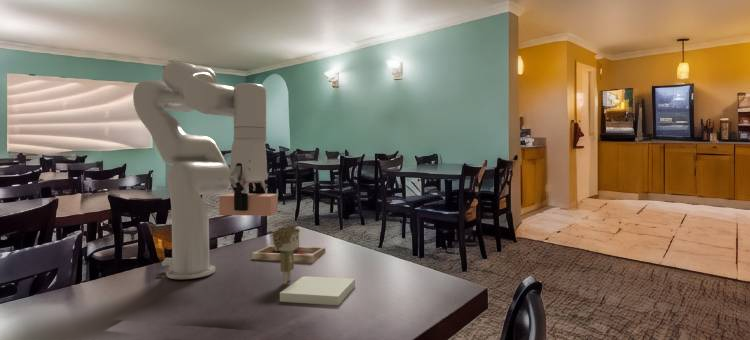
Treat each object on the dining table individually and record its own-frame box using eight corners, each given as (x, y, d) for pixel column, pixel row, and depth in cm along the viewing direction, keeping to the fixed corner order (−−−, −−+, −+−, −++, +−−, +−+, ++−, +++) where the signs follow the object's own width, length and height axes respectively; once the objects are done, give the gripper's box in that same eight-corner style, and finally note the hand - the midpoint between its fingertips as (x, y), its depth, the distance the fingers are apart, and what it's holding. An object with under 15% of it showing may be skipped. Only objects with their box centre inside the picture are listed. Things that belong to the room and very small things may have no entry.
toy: (293, 286, 105) (292, 228, 105) (269, 285, 107) (268, 227, 106) (304, 278, 113) (303, 223, 112) (281, 277, 114) (280, 223, 114)
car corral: (252, 264, 129) (252, 253, 129) (270, 255, 141) (270, 245, 141) (312, 266, 125) (312, 255, 125) (325, 257, 137) (325, 247, 137)
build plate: (279, 301, 94) (279, 292, 94) (303, 283, 108) (303, 276, 108) (338, 305, 91) (338, 296, 91) (355, 286, 105) (354, 278, 105)
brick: (219, 215, 96) (219, 195, 96) (229, 211, 103) (229, 193, 103) (270, 215, 96) (270, 196, 96) (277, 211, 103) (277, 193, 103)
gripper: (254, 137, 108) (254, 204, 109) (214, 133, 91) (215, 212, 92) (280, 137, 107) (280, 204, 107) (245, 133, 90) (245, 213, 90)
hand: (250, 207), depth 100 cm, fingers closed on brick, 7 cm apart
